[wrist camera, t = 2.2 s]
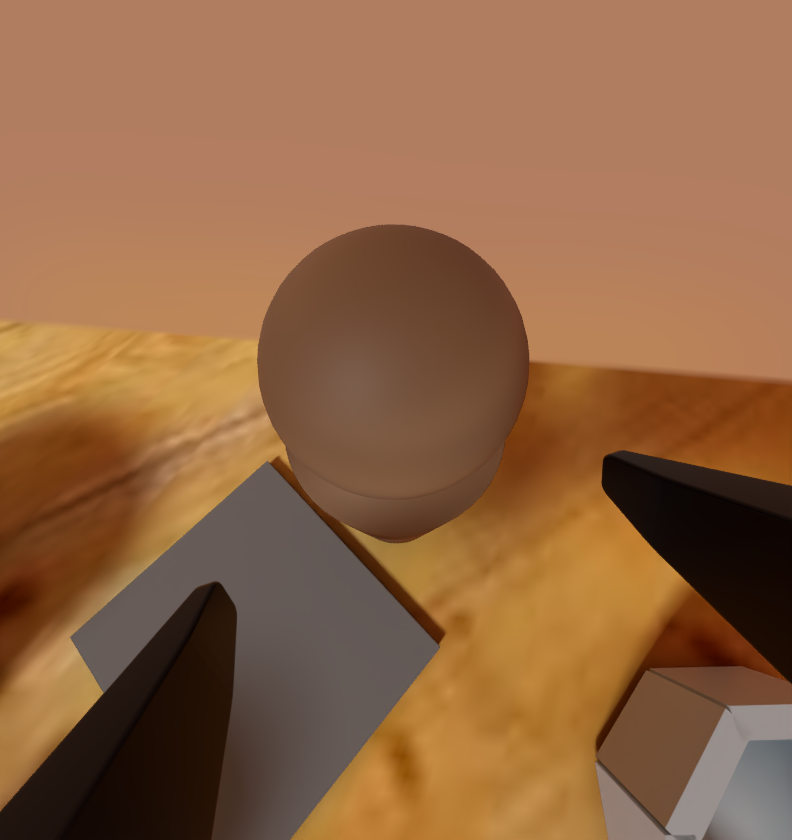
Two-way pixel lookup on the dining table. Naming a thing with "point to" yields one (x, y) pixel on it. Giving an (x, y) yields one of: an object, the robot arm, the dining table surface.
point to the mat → (276, 649)
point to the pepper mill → (393, 377)
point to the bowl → (700, 757)
